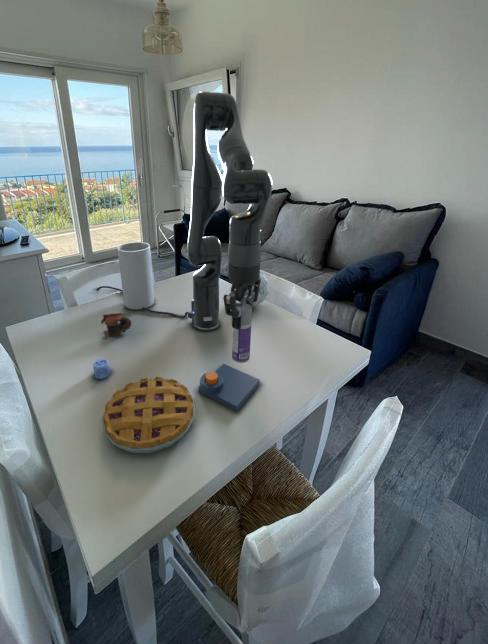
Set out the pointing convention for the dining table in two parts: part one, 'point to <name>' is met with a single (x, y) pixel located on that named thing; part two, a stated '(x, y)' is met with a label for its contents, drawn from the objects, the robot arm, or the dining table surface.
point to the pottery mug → (115, 324)
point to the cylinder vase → (136, 275)
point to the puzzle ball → (262, 289)
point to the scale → (229, 387)
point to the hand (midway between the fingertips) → (241, 323)
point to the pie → (148, 415)
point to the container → (242, 336)
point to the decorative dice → (101, 368)
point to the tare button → (211, 378)
